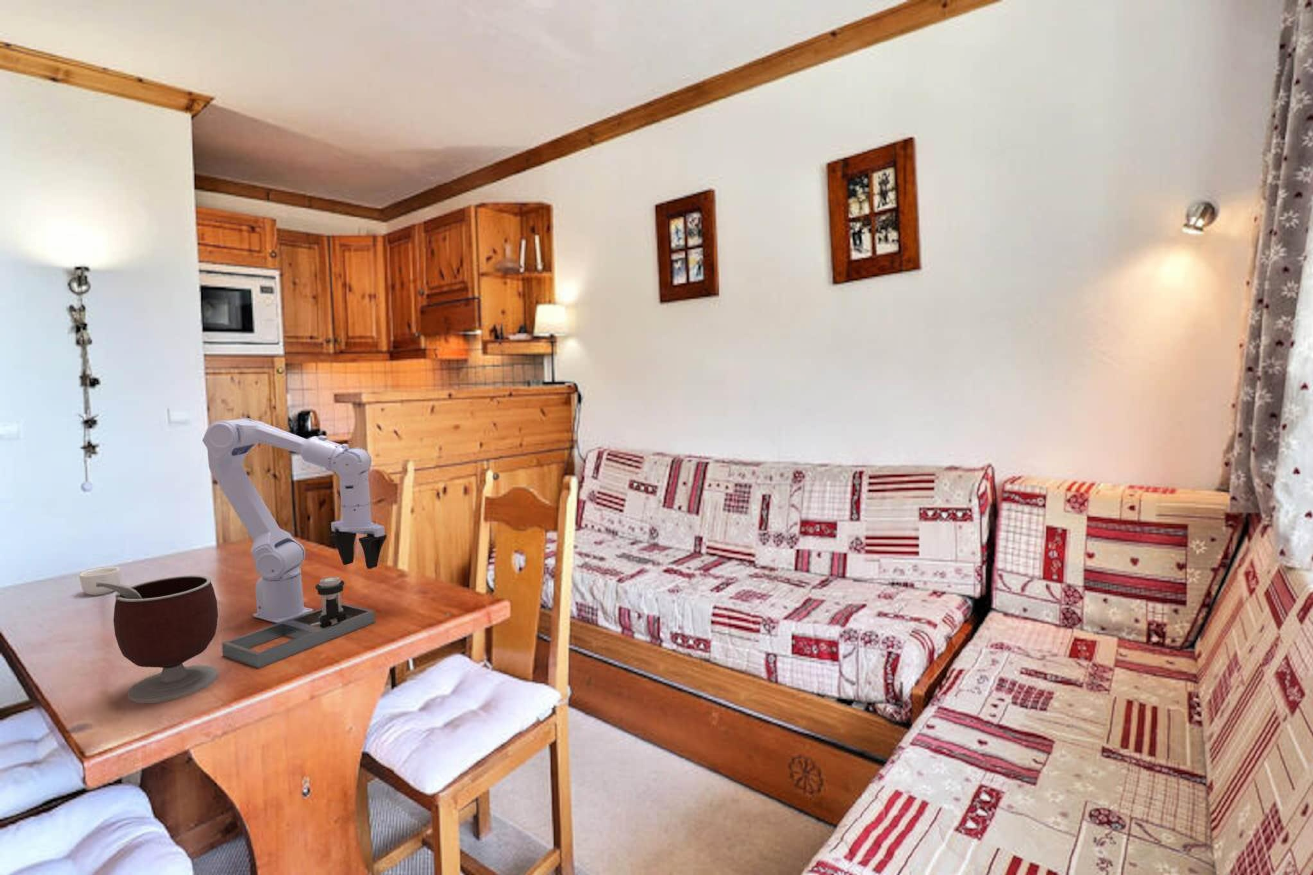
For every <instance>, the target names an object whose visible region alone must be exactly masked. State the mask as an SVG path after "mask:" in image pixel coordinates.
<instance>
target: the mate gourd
mask: <svg viewBox="0 0 1313 875" xmlns="http://www.w3.org/2000/svg"><path fill="white" fill-rule="evenodd" d="M96 587H105V588H109V589H112V590H114V591H115V592H117V593H116V594H115V596H114V597H115V602H114V608H113V609H114V610H113V619H112V620H113V621H112V622H113V628H114V629H113V630H114V636H115V639H116V642H117V644H118V645H117V646H118V648H119V650H120V652H121V655H122V656H123V657H124V658H126V659H127V660H129V662H131V663H133V664H134V665H135V666H137V667H141V668H162V670H161V672H159V673H155V674H153V675H151V676H147V677H145V678H144V679H141V680H139V681H138V682H136V683H135V684H133V685H132V686H131V687H130V688H129V690H128V691H127V697H128V700H129V701H131V702H133V703H137V704H153V703H162V702H167V701H172V700H176V699H180V698H183V697H186V696H189V695H191V694H194V693H197V692H200V691H202V690H203V689H205V688H207V687H208V686H211V685H212V684H213V683H214V682H215V681H216V680H217V679H218V677H219V672H218V669H217V668H216V667H214V666H211V665H204V664H203V665H202V664H200V665H198V664H197V665H188V666H187V665H186V666H184V665H183V663H185V662H187V661H189V660H190V659H193V658H194V657H196V656H199V655H200V654H203V652H204V651H205V650H207V648H208V647H209V645H210V643H212V640H213V639H214V638H215V636H216V632H217V628H218V618H219V610H218V609H219V608H218V599H217V596H216V593H215V589H214V586H213V583H212V579H211V577H209V576H208V575H207V576H205V575H198V574H197V575H196V574H195V575H193V574H191V575H177V576H169V577H163V578H159V579H153V580H150V581H144V582H141V583H137V584H135V585H131V586H128V585H124V584H121V583H120V584H114V583H108V582H97V584H96ZM114 591H113V592H114Z"/></svg>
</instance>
